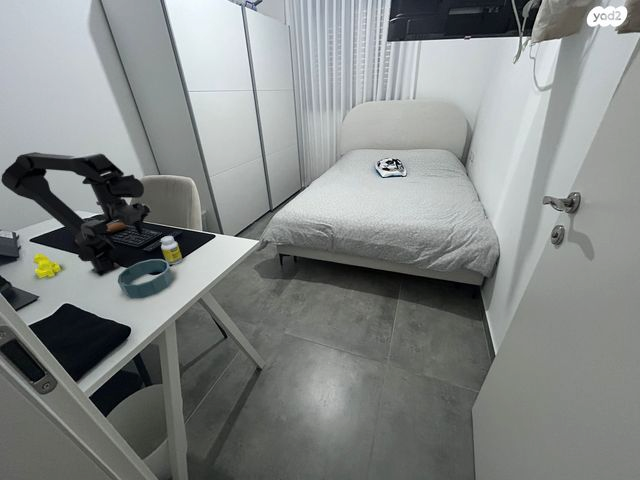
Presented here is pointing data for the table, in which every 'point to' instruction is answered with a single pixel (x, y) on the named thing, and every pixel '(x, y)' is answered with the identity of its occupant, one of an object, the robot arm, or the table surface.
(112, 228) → the sunglasses case
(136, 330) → the table surface
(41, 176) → the robot arm
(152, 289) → the teal ring-shaped band
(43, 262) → the crumpled paper
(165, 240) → the supplement bottle
